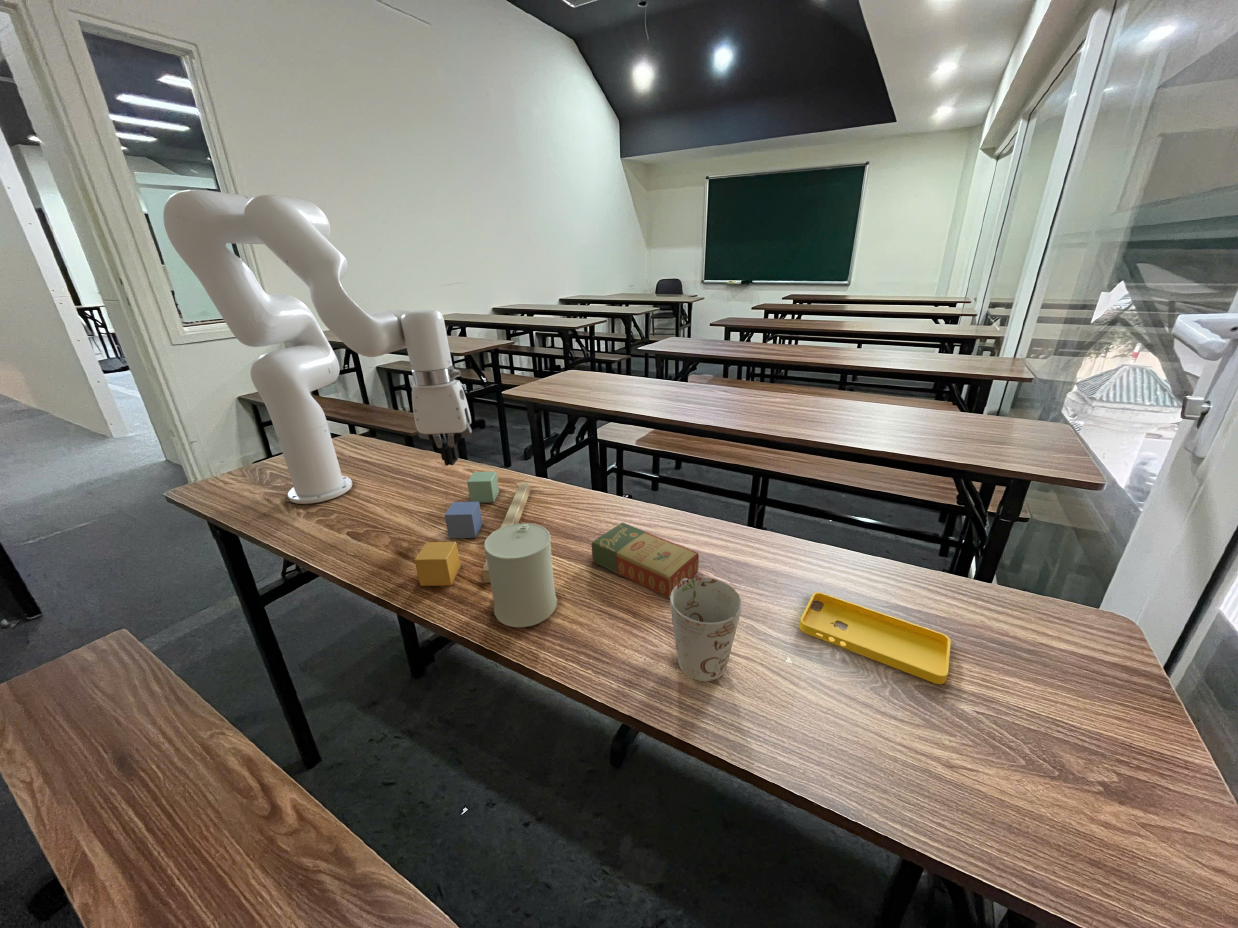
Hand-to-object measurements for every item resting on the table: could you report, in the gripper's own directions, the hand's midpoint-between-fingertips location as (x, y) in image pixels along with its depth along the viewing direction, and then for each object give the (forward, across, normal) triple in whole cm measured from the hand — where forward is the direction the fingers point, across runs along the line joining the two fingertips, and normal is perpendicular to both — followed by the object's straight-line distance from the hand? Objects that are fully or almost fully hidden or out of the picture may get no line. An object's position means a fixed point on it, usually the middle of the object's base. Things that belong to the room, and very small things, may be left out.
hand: (451, 462), depth 101 cm
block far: (+8, -6, 0) cm, 10 cm away
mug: (+10, -45, +45) cm, 64 cm away
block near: (+9, -6, +28) cm, 30 cm away
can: (+9, -21, +36) cm, 42 cm away
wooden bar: (+9, -14, +14) cm, 22 cm away
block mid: (+8, -6, +14) cm, 17 cm away
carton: (+10, -39, +27) cm, 48 cm away
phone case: (+10, -68, +43) cm, 82 cm away
